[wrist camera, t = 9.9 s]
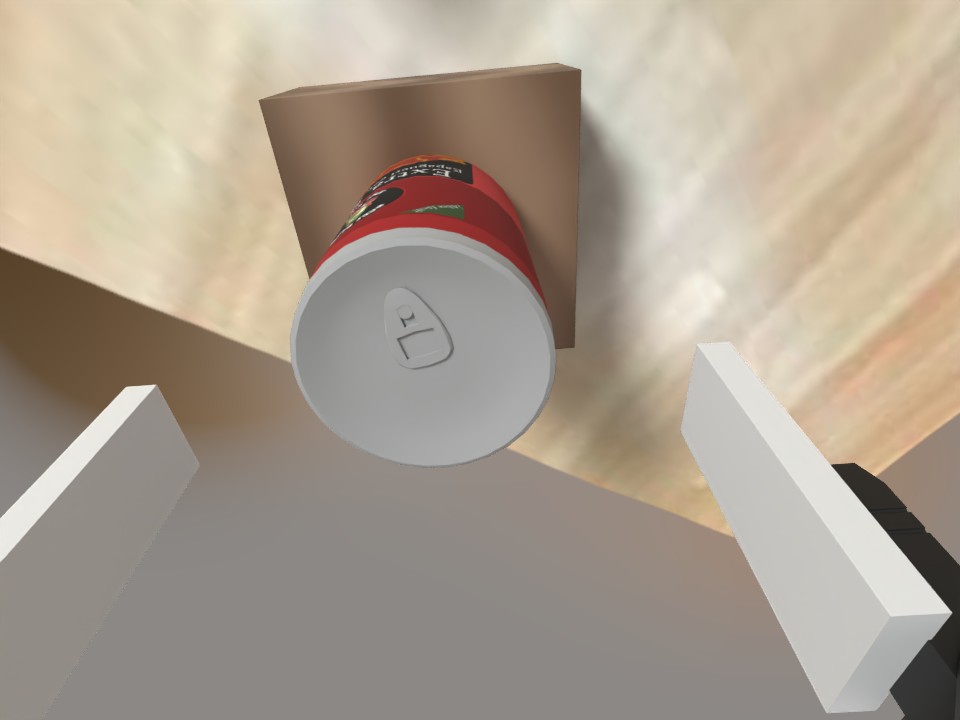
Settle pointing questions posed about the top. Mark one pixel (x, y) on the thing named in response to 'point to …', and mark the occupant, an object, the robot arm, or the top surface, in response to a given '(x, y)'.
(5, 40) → the top surface
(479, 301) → the canned food
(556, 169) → the walnut stand
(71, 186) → the top surface
